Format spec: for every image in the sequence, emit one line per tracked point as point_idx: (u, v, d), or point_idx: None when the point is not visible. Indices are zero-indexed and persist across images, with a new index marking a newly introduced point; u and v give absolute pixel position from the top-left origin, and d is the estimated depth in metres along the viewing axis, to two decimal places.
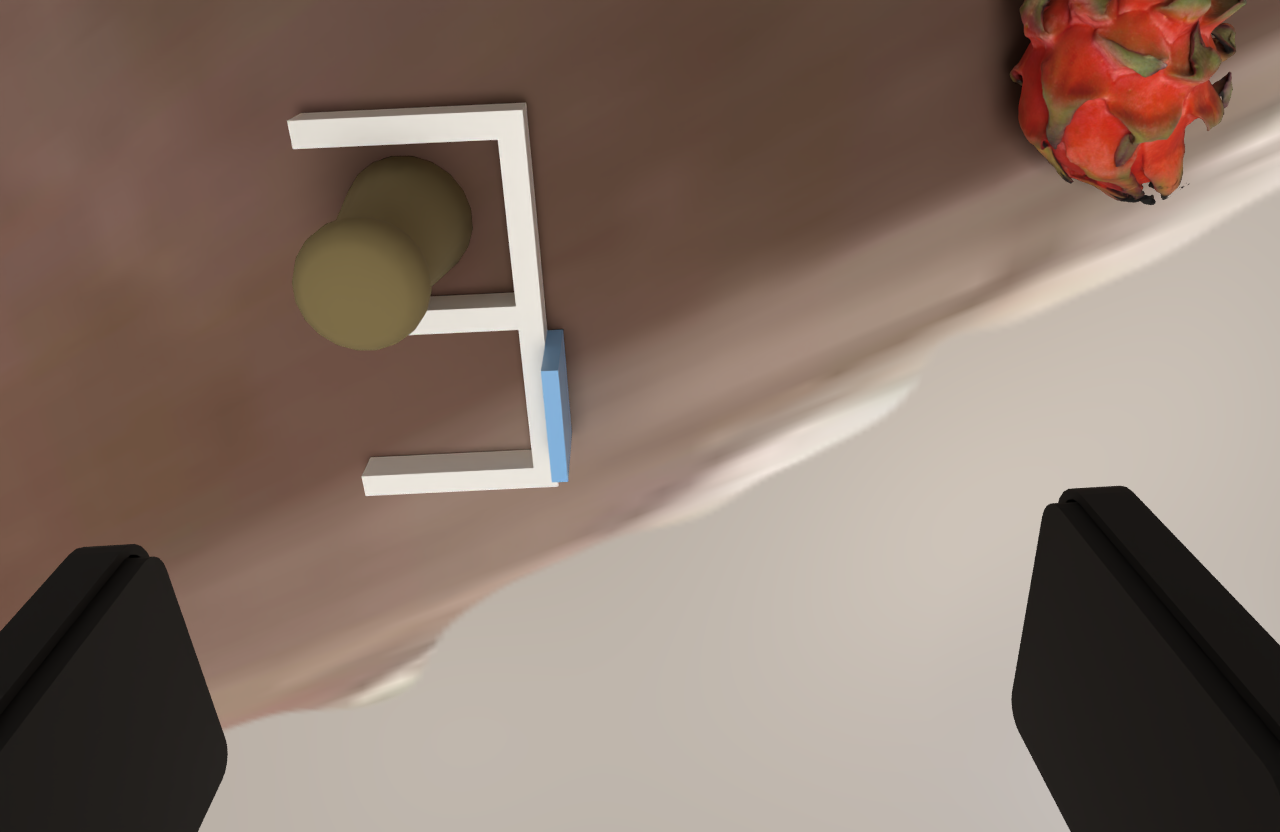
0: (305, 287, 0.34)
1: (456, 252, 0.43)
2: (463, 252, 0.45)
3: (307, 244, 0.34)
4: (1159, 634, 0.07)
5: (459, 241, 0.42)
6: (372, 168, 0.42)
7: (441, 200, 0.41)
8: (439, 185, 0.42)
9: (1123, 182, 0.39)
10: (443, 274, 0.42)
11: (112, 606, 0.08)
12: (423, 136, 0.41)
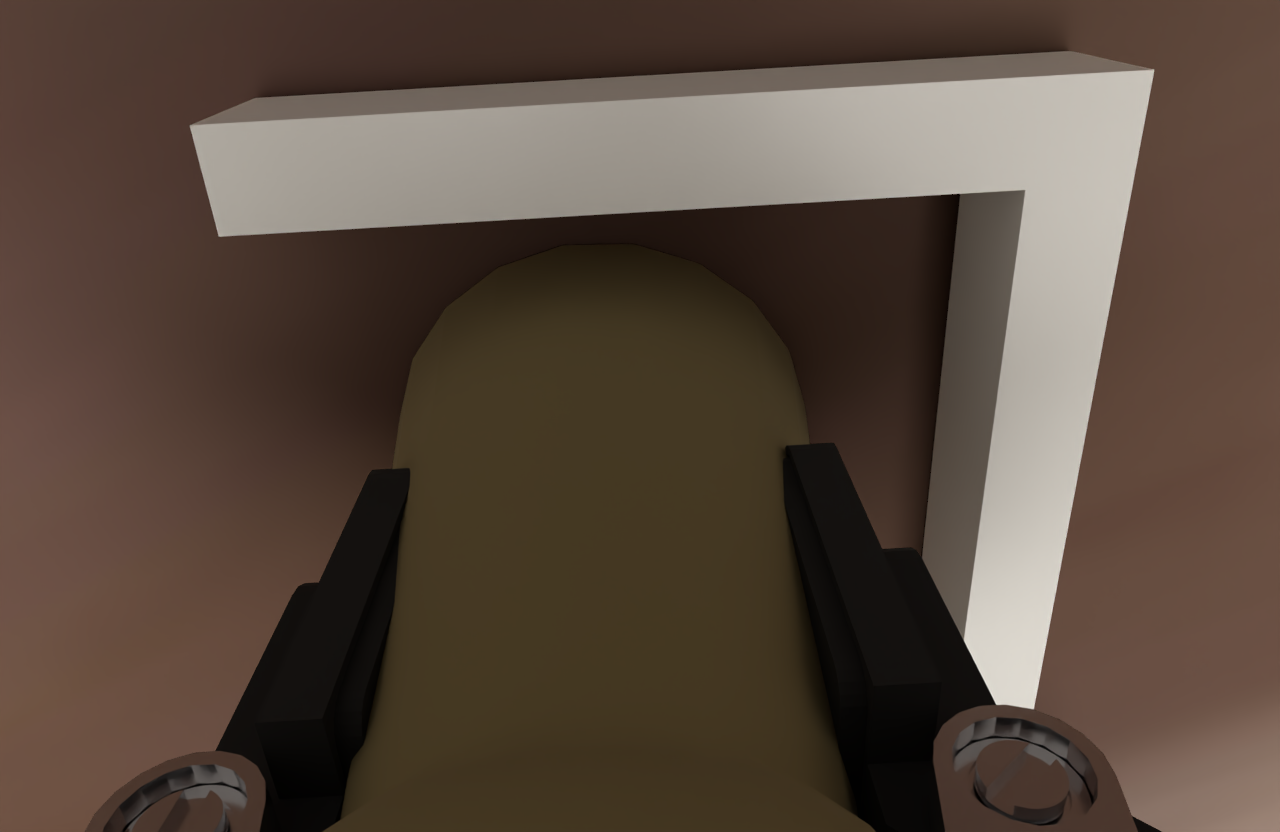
0: None
1: None
2: None
3: None
4: (804, 563, 0.08)
5: None
6: (505, 294, 0.12)
7: (780, 422, 0.11)
8: (753, 356, 0.11)
9: None
10: None
11: None
12: (736, 181, 0.10)
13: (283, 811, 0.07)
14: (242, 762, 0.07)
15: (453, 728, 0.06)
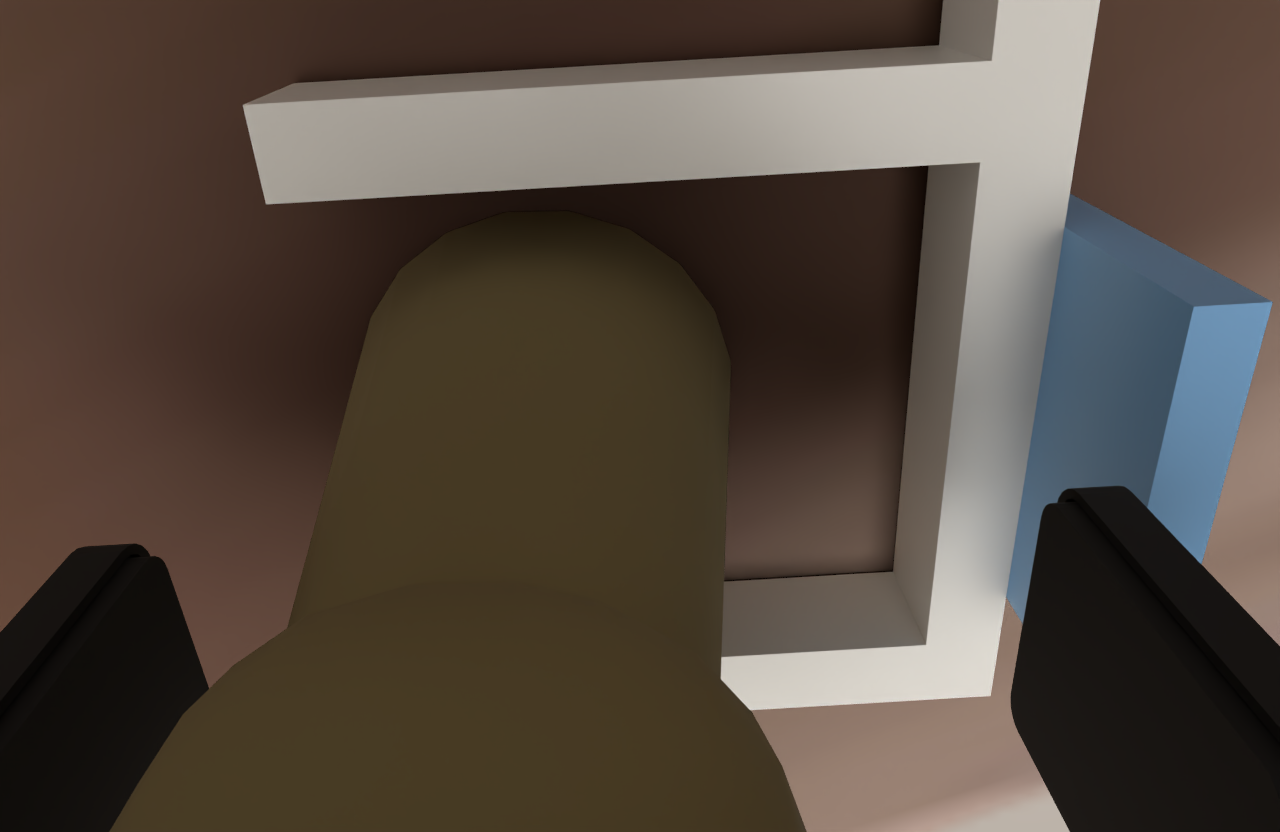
0: None
1: None
2: None
3: None
4: (1158, 633, 0.07)
5: None
6: (450, 254, 0.13)
7: (691, 366, 0.12)
8: (671, 309, 0.13)
9: None
10: None
11: (113, 605, 0.08)
12: None
13: None
14: None
15: (364, 586, 0.08)
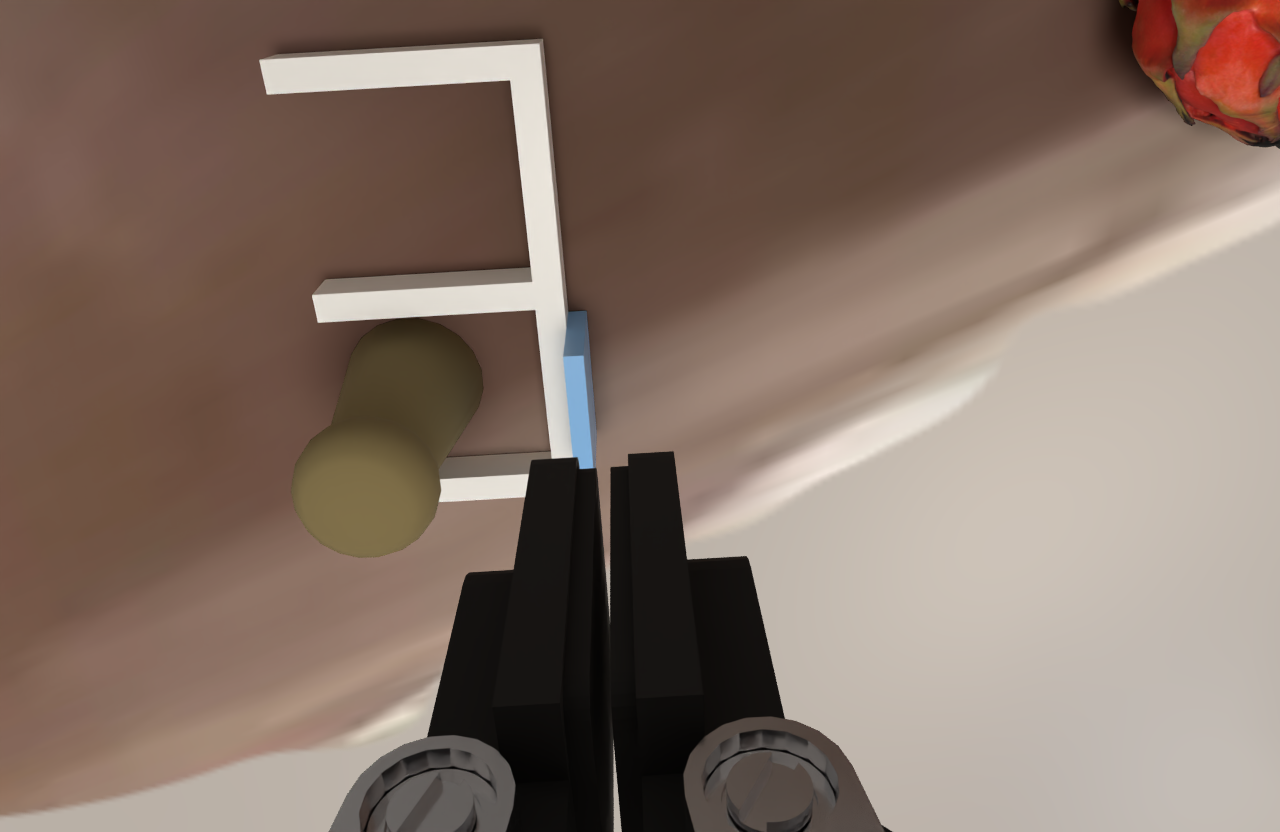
0: (305, 500, 0.32)
1: (466, 421, 0.40)
2: None
3: (307, 454, 0.32)
4: (612, 573, 0.08)
5: (469, 410, 0.40)
6: (377, 334, 0.40)
7: (450, 371, 0.39)
8: (448, 353, 0.39)
9: (1264, 119, 0.32)
10: None
11: (592, 505, 0.10)
12: (421, 77, 0.34)
13: None
14: (481, 746, 0.07)
15: None
